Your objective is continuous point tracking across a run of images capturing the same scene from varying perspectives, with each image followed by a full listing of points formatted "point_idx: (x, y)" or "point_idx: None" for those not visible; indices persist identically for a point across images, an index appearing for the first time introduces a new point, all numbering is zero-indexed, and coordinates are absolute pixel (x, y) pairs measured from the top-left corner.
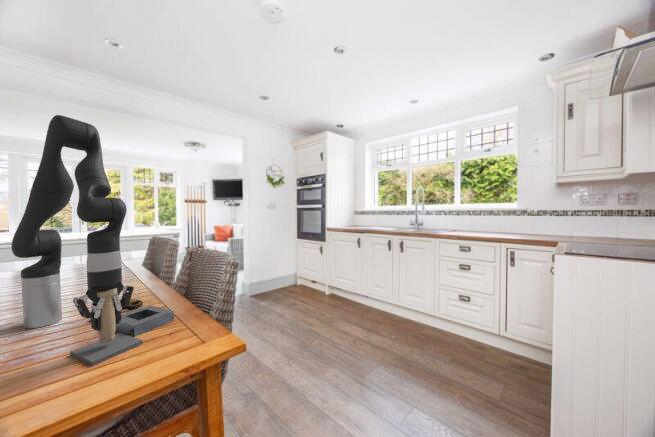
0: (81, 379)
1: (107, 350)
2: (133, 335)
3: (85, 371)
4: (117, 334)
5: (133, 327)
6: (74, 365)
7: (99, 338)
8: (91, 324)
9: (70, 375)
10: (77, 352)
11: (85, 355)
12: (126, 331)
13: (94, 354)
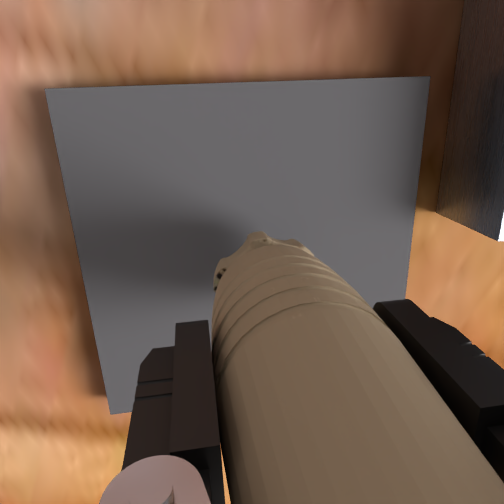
0: (39, 483)
1: None
2: (441, 202)
3: (71, 424)
4: (398, 100)
5: (487, 223)
6: (44, 303)
7: (216, 276)
8: (136, 404)
9: (5, 406)
10: (82, 176)
11: (107, 288)
12: (465, 96)
13: (149, 326)
